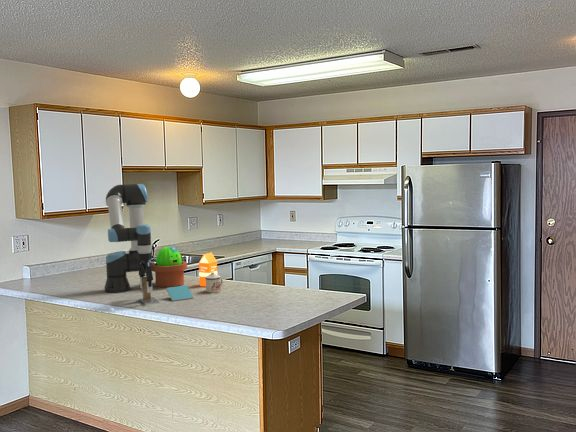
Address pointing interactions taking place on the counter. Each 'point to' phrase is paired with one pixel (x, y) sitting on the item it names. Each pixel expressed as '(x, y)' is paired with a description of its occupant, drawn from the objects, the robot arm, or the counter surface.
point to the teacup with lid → (213, 283)
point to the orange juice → (207, 267)
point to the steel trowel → (147, 294)
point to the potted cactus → (169, 268)
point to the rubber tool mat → (140, 303)
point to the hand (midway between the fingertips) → (146, 290)
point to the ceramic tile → (179, 293)
